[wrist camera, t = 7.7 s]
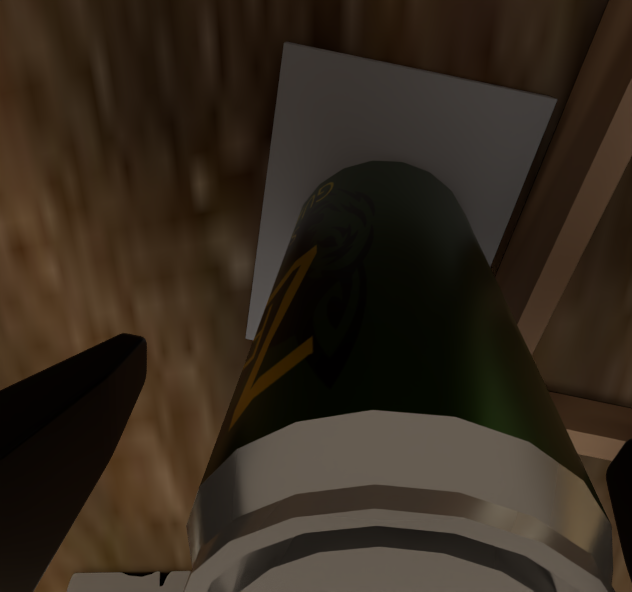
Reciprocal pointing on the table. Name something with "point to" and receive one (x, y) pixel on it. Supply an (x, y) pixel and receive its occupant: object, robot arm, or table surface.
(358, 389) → the beer can
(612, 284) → the table surface
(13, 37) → the table surface
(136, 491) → the table surface
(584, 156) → the wooden tray
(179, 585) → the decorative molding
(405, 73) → the grey rubber mat
